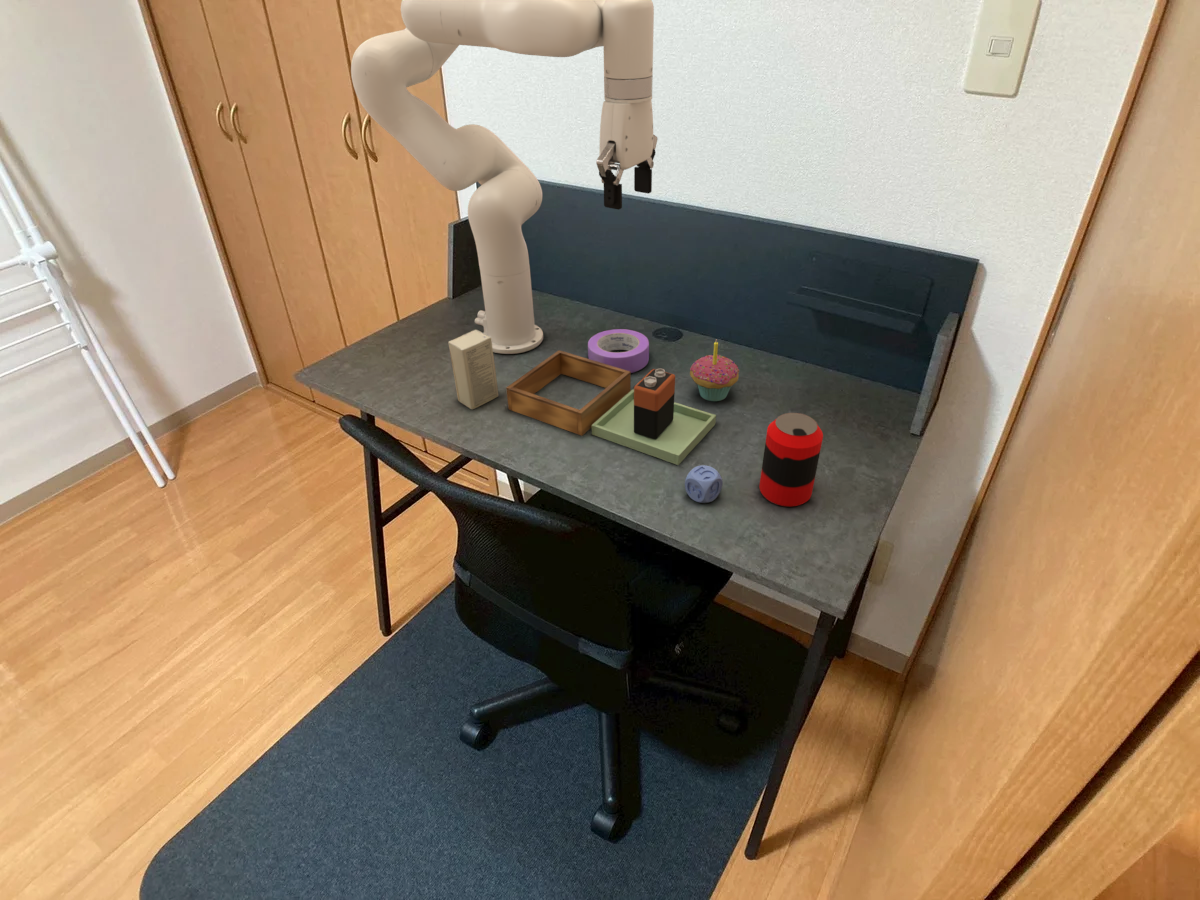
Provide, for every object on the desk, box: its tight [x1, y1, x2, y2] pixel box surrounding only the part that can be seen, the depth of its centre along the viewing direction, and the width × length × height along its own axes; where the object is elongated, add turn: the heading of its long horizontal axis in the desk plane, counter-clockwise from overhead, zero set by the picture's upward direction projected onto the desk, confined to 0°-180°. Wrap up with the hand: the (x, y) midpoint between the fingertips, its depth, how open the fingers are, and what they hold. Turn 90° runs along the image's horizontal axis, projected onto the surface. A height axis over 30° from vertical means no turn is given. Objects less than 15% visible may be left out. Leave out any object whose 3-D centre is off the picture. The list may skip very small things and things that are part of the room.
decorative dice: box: [684, 464, 723, 504], centre depth 105 cm, size 4×4×4 cm
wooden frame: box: [505, 349, 632, 437], centre depth 126 cm, size 16×16×4 cm
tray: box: [591, 388, 717, 466], centre depth 120 cm, size 16×13×2 cm
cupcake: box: [689, 338, 740, 402], centre depth 125 cm, size 9×8×12 cm
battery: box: [633, 368, 676, 439], centre depth 117 cm, size 4×7×10 cm, turn 149°
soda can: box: [758, 412, 824, 508], centre depth 103 cm, size 8×8×12 cm
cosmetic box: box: [447, 329, 500, 410], centre depth 125 cm, size 6×4×12 cm
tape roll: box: [587, 328, 650, 374], centre depth 138 cm, size 12×12×4 cm
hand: (628, 199), depth 122 cm, fingers open, 9 cm apart
